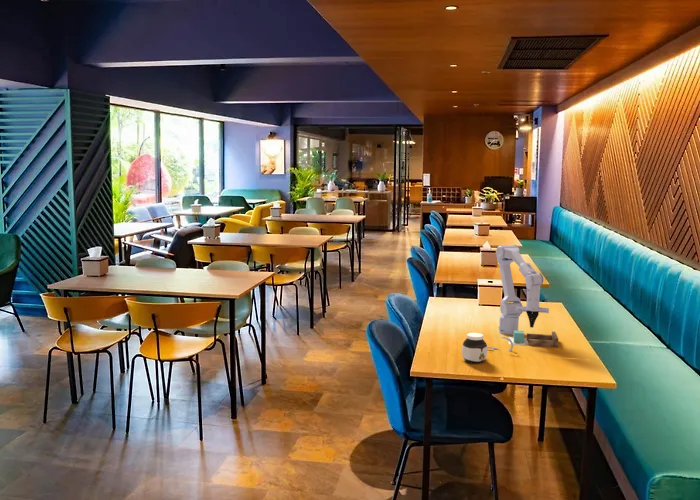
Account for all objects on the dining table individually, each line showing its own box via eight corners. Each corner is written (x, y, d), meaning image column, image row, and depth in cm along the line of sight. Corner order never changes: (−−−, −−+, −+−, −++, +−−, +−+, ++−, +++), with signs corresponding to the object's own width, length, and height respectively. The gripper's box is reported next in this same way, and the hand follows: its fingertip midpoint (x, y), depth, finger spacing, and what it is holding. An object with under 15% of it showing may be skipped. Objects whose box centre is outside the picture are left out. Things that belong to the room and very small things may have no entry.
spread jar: (469, 365, 262) (470, 338, 260) (454, 357, 272) (455, 331, 271) (492, 361, 267) (494, 335, 265) (477, 354, 277) (478, 328, 275)
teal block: (513, 342, 293) (514, 333, 292) (513, 339, 297) (513, 330, 297) (523, 342, 292) (524, 333, 291) (523, 340, 296) (523, 330, 296)
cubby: (508, 345, 290) (509, 335, 289) (507, 338, 302) (507, 328, 301) (557, 348, 286) (558, 338, 285) (554, 341, 297) (555, 331, 297)
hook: (512, 355, 275) (467, 356, 283) (515, 349, 284) (471, 350, 291) (510, 339, 274) (465, 341, 282) (513, 334, 283) (469, 335, 291)
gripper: (517, 299, 288) (516, 328, 290) (550, 301, 285) (548, 330, 287) (516, 296, 295) (515, 324, 297) (548, 298, 292) (546, 326, 294)
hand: (531, 326), depth 293 cm, fingers closed
